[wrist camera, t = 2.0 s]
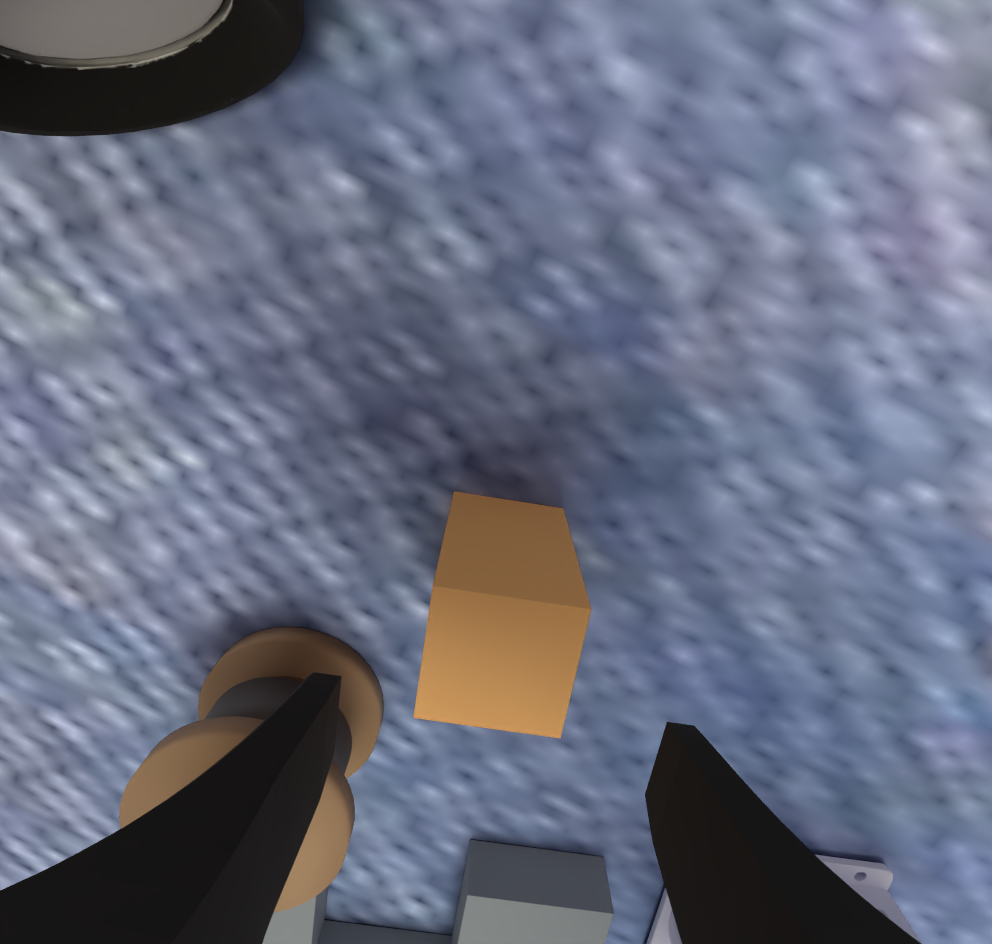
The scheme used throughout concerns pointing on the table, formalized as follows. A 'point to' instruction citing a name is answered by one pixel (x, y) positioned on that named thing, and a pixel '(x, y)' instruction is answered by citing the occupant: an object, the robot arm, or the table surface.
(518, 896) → the notched board
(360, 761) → the bobbin post
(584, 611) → the orange rectangular block
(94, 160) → the table surface
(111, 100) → the portable speaker
